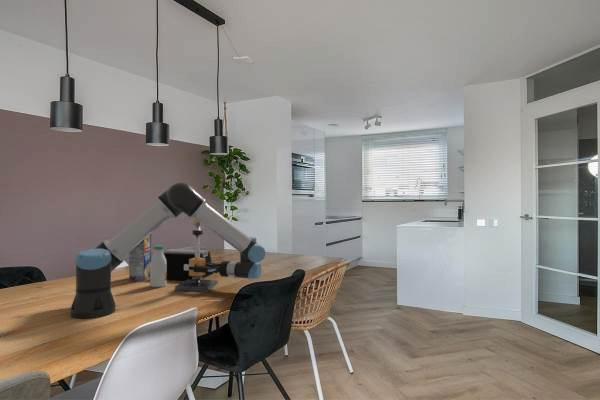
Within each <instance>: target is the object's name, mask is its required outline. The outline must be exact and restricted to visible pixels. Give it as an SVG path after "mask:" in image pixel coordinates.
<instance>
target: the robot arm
mask: <svg viewBox="0 0 600 400" xmlns="http://www.w3.org/2000/svg"><path fill="white" fill-rule="evenodd" d="M182 213H184V214H185V215H186V216H188V217H189V218H193V217H195V218H196V219H197V220H199V221H200V222H201V223H202V224H201V225H204V226H205V227H207V228H208V229H209V230H210V231H211V232H213V233H214V234H216V235H217V236H218V237H220V238H221V239H222V240H224V241H225V242H226V243H228V245H230V246H231V247H232V248H234V249H235V250H237V251H238V252H239V255H240V256H239V260H240V261H236V260H235V261H233V260H222V261H221V262H220V263H217V262H212V263H209V262H208V263H205V266H196V264H195V265H187V264H184V270H189V271H194V272H203V273H212V272H213V274H218V273H219V275H220V277H222V278H224V277H225V278H233V279H237V278H238V279H248V280H250V279H251V280H253V279H254V280H256V279H260V276H261V275H262V269H263V268H262V265H261V263H260V262H262V261H263V260H265V258H266V255H267V254H266V250H265V248H264V247H263V245H261V244H259V243H257V238H256V237H255V236H249V235H247V234H246V233H245V232H243V231H242V230H241V229H240V228H239V227H237V225H235V224H233V223H232V222H230V221H229V220H228V219H227V218H225V216H223V215H222V214H221V213H220V212H218V211H217V210H216V209H214V208H213V207H211V206H210V205H209V204H208V203H207V202H206V199H205V198H204V197H203V196H202V195H201V194H199V193H198V192H197V190H195V188H194V187H192V185H190V184H188V183H185V182H176V183H174V184H172V185H171V186H169V187H168V188H167V189H166V190H165V191H164V192H163V193H161V194H160V195H159V196H158V197H157V198H156V203H155V204H153V205H152V206H151V207H149V208H148V209H147V210H146V211H145V212H143V213H142V214H141V215H140V216H139V217H138V218H135V220H134V221H133V222H131V223H130V224H128V226H126V227H125V228H124V229H122V231H120V232H119V233H118V234H116V235H115V236H114V237H113V238H111V239H110V240H103V241H102V242H100V244H99V243H98V245H97V246H95V247H94V248H90V249H89V248H88V249H84V250H81V251H79V252H78V253H77V254H76V259H75V262H74V263H75V296H74V298H73V301H72V304H71V306H70V310H69V311H70V312H69V315H70V317H71V318H76V319H91V318H93V319H94V318H98V317H99V318H100V317H104V316H107V315H111V314H113V313H115V312H116V310H117V309H116V308H117V306H116V301H115V299H114V297H113V296H114V295H113V294H112V293H113V292H112V290H111V289H112V287H111V285H112V284H111V282H112V279H111V278H112V272H113V271H114V270H115V269H116V268H117V267H119V266H120V265H121V264H122V263H124V262H125V256H126V255H127V254H129V253H130V251H131V250H132V249H133V248H134V247H136V246H137V245H138V244H139V243H140V242H142V241H143V240H144V239H145V238H146V237H148V236H149V235H150V234H151V235H152V233H154V232H155V231H156V230H158V228H160V227H161V226H162V225H163V224H165V223H166V222H167V221H168V220H170V219H171V218H172V219H176V218H177V217H179V215H181V214H182Z"/></svg>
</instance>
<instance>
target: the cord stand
mask: <svg viewBox="0 0 600 400" xmlns="http://www.w3.org/2000/svg"><path fill="white" fill-rule="evenodd" d="M192 218H193V225H194V229H193V230H192V233H191V234H192V235H193V236H194V250H195V259H200V250H201V235H203V229H201V225H203V224H202V223H201V222H200V221H199V220H197V219H196V218H195V217H192ZM218 283H219V281H218V279H202V276H192V280H191V279H187V280H185V281H181V282H180V283H178V284H176V285H175V286H174V291H176V292H181V291H183V292H210V291H211V290H212V289H213V288H215V285H216V284H217V285H218ZM217 285H216V286H217ZM210 289H211V290H210Z"/></svg>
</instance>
